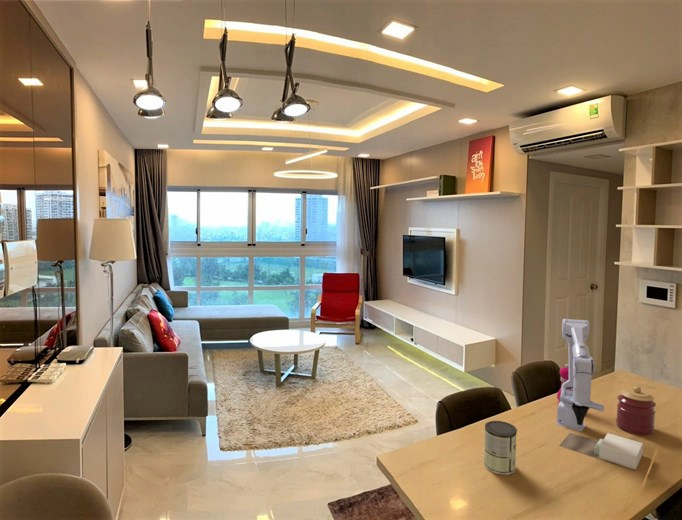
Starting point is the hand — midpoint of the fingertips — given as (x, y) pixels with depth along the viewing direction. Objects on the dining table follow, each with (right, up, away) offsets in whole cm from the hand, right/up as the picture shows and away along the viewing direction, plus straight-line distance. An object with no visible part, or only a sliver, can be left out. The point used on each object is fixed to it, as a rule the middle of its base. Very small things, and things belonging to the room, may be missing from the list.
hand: (580, 424), depth 164 cm
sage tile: (+8, -8, -7) cm, 14 cm away
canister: (+30, -7, +14) cm, 34 cm away
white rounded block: (+10, -9, -8) cm, 15 cm away
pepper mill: (+12, -5, +34) cm, 37 cm away
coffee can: (-36, -10, -14) cm, 39 cm away
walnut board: (+5, -9, -4) cm, 11 cm away
